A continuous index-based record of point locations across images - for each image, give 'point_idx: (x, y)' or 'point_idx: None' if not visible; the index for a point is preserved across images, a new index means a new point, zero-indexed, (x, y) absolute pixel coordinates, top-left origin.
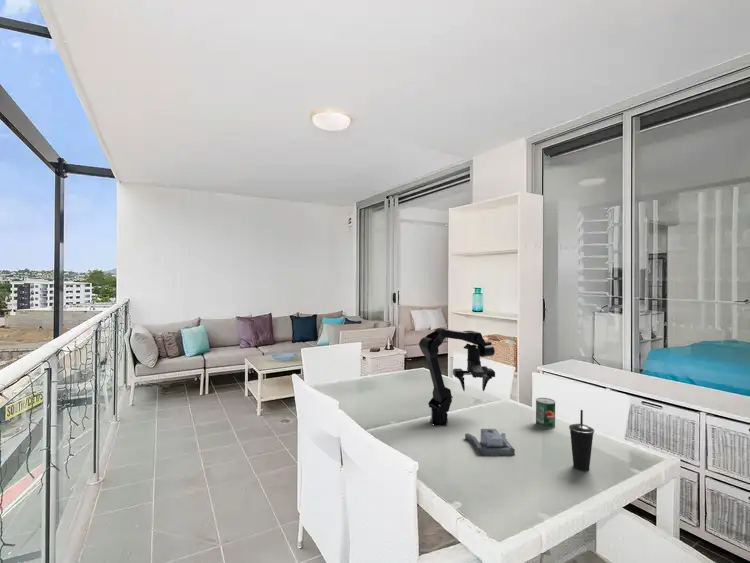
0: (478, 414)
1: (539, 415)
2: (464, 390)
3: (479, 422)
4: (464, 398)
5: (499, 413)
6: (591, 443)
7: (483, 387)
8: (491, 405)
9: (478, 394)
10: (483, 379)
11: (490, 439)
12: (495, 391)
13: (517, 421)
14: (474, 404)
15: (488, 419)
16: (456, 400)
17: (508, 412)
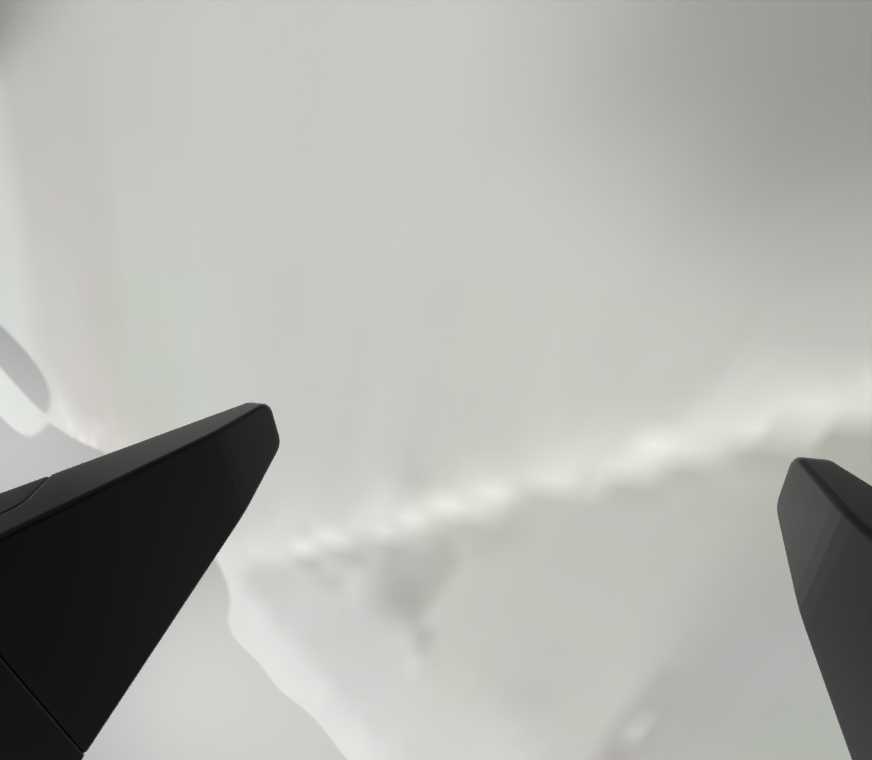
0: (475, 314)
1: None
2: (814, 464)
3: (538, 26)
4: (499, 649)
5: (270, 327)
6: None
7: (202, 448)
8: (317, 497)
9: (378, 672)
10: (24, 705)
11: None
12: (270, 675)
13: (118, 105)
14: (450, 539)
15: (397, 155)
16: (583, 637)
17: (199, 344)
